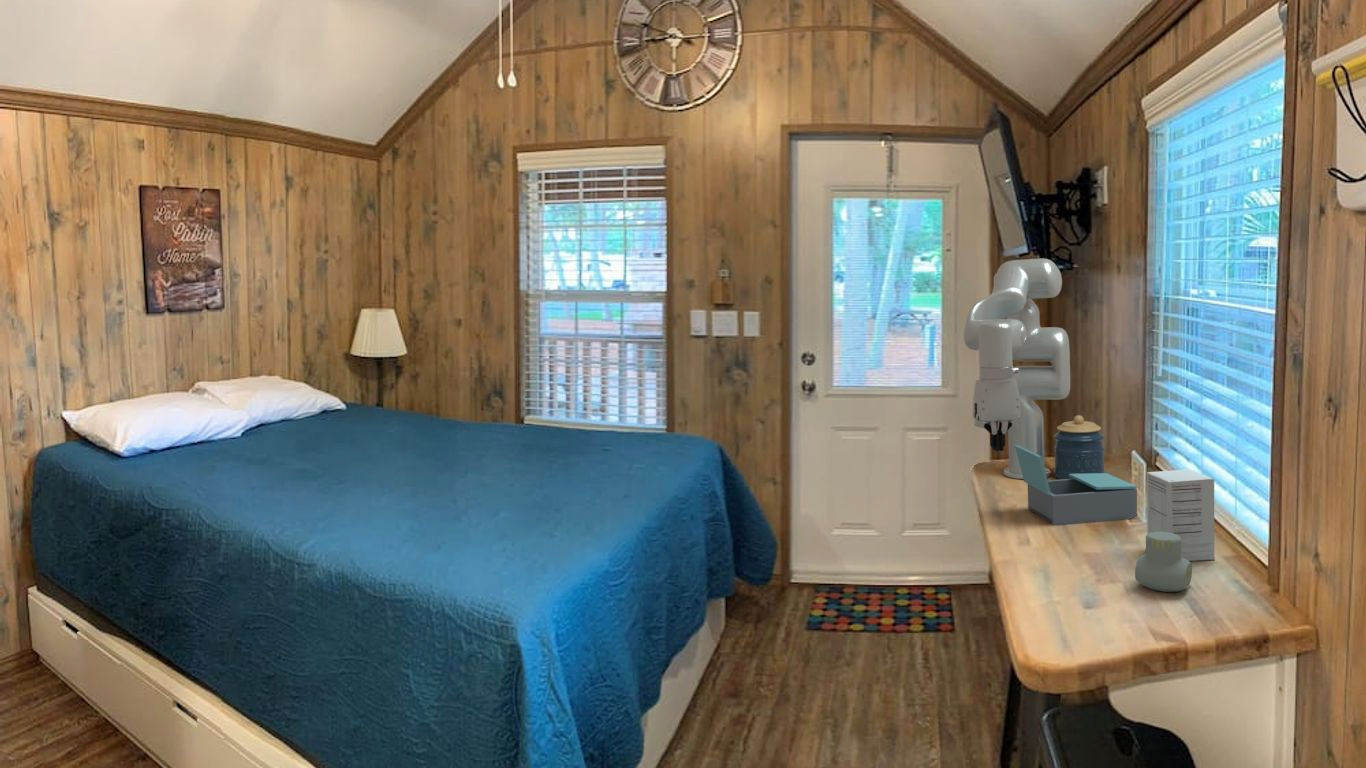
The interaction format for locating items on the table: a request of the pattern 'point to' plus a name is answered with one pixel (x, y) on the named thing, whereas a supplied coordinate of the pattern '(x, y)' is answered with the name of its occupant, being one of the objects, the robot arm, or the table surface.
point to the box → (1081, 503)
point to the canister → (1078, 448)
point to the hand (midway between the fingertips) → (997, 449)
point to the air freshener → (1163, 564)
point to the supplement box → (1183, 510)
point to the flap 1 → (1033, 469)
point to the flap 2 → (1102, 481)
